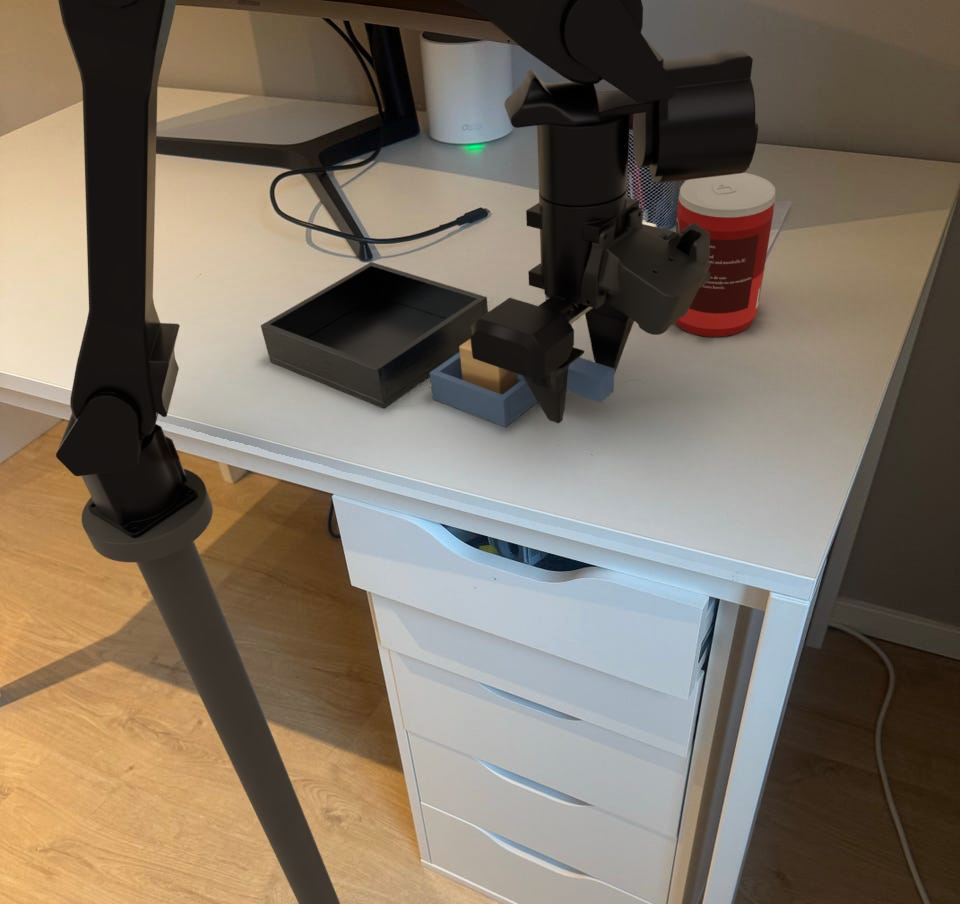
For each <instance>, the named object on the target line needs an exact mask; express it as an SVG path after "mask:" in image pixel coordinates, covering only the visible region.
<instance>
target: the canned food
mask: <svg viewBox="0 0 960 904" xmlns="http://www.w3.org/2000/svg"><path fill="white" fill-rule="evenodd" d="M677 200H678V202H677V210H676V221H675V222H676V223H675V233H676V234H678V233H680V232H681V231H682V230H684V229H685V228H686V227H688V226H689V225H690V224H692V223H695V224H697V225H698V226H700V227H701V228H703V229H704V230H706V231H707V232H709V234H710V257H709V263H711V265H710V267H709V270H708V271H709V272H710V279H709V281H707V282H706V283H705V284H704V285H703V286H701V287H700V288H699V289H698V291H697V293H696V295H695V297H694V299H693V302H692V304H691V306H690V308H689V310H688V312H687V314H686V315H685V316H683V317H680V318H679V319H678V320H677V321H676V322H674V324H676V326H677V327H679V328H680V329H682V330H683V331H685V332H687V333H689V334H693V335H696V336H701V337H710V338H721V337H728V336H733V335H736V334H739V333H742V332H743V331H745V330H747V329H748V328H749V327H751V325H752V324H753V322H754V320H755V319H756V316H757V314H758V310H759V305H760V304H759V303H760V298H761V291H762V287H763V286H762V285H763V279H764V273H765V267H766V262H767V254H768V249H769V243H770V236H771V230H772V224H773V217H774V211H775V209H774V208H775V202H776V187H775V185H774V184H773V183H772V182H770V181H769V180H768V179H766V178H763V177H761V176H759V175H756V174H754V173H753V174H752V173H748V172H744V173H741V174H732V175H724V176H716V177H707V178H699V179H690V180H685V181H684V182H683V183H682V185H680V188H679V194H678V199H677Z"/></svg>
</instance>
